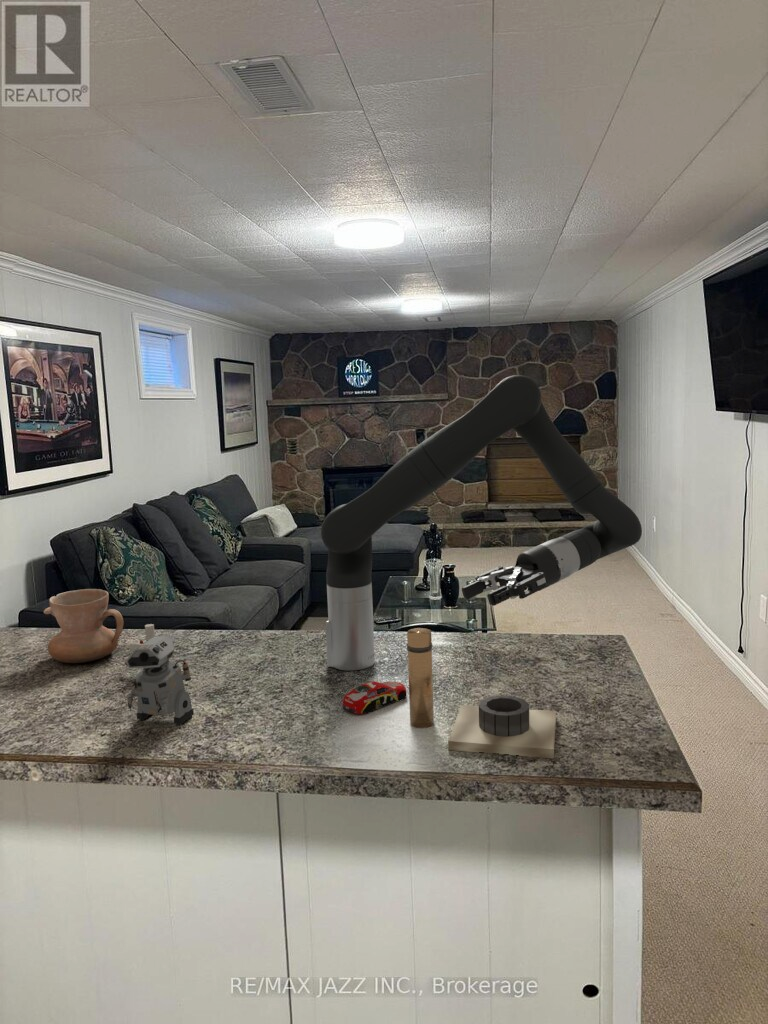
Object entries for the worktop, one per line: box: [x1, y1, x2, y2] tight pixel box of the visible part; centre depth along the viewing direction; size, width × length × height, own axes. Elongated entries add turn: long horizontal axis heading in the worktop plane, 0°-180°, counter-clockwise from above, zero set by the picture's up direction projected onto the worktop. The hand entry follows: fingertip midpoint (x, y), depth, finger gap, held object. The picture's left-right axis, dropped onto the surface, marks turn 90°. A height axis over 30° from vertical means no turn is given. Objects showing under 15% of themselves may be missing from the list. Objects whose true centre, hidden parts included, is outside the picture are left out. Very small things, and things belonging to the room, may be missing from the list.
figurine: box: [124, 634, 195, 726], centre depth 130 cm, size 9×12×15 cm
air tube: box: [406, 627, 435, 729], centre depth 126 cm, size 4×4×16 cm
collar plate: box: [447, 694, 557, 760], centre depth 122 cm, size 16×14×5 cm
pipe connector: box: [128, 623, 156, 655], centre depth 156 cm, size 10×10×10 cm
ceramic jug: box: [43, 588, 124, 664], centre depth 167 cm, size 18×14×14 cm
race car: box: [342, 680, 408, 715], centre depth 137 cm, size 13×5×4 cm, turn 130°
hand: (476, 597), depth 131 cm, fingers open, 8 cm apart
